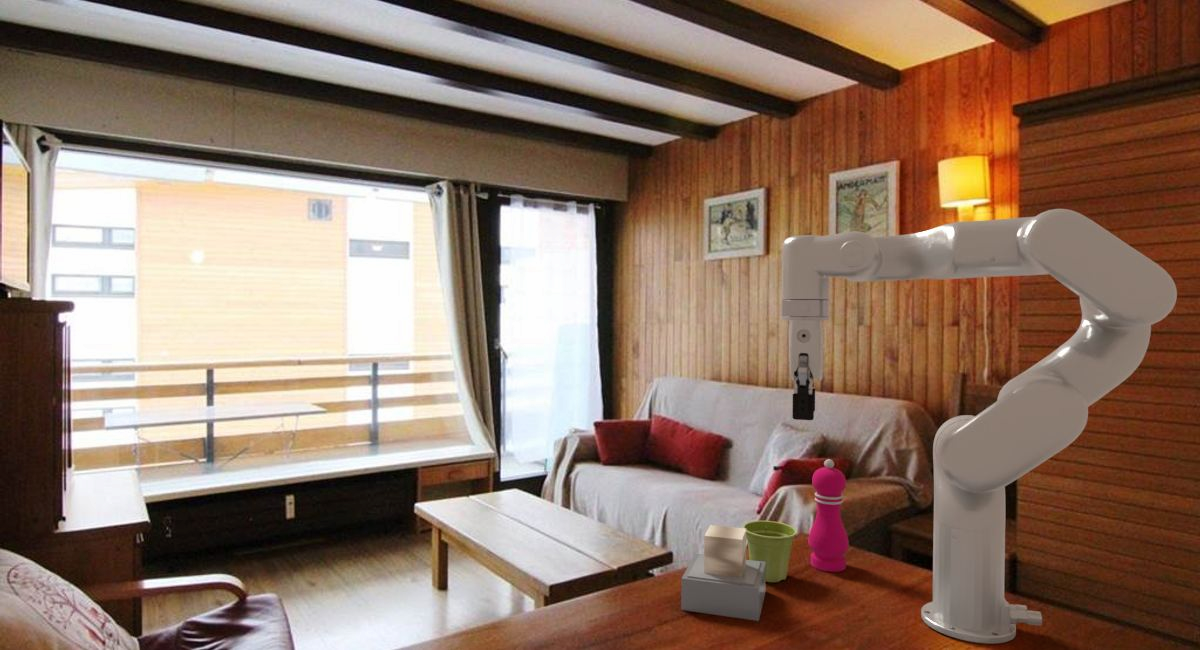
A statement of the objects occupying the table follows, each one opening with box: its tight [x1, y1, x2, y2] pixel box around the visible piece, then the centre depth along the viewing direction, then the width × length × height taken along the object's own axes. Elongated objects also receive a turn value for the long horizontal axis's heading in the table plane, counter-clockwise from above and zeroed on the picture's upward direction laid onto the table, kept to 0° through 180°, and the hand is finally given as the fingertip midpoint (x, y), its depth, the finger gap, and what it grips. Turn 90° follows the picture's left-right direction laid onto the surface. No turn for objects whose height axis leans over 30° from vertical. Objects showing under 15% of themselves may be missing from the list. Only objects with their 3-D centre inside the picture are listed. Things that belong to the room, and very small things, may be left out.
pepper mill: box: [807, 458, 850, 573], centre depth 127 cm, size 7×7×20 cm
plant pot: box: [742, 520, 798, 583], centre depth 122 cm, size 9×9×9 cm
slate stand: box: [680, 553, 767, 622], centre depth 112 cm, size 12×12×5 cm
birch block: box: [703, 524, 747, 577], centre depth 112 cm, size 6×6×6 cm
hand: (804, 415), depth 112 cm, fingers open, 9 cm apart
